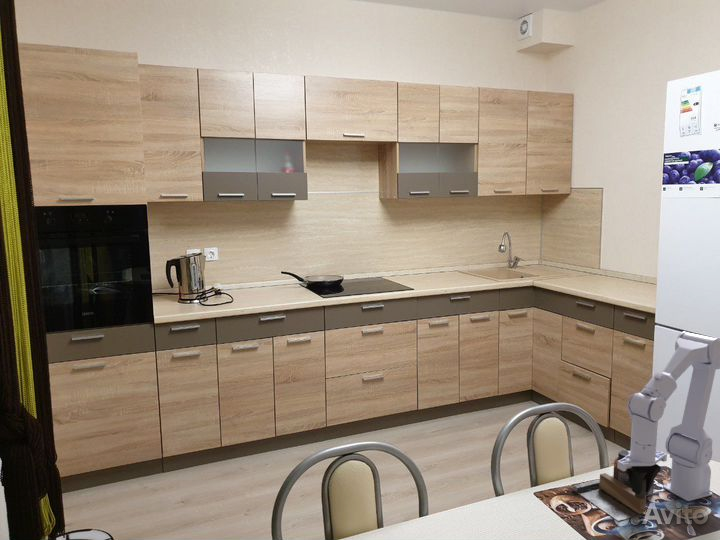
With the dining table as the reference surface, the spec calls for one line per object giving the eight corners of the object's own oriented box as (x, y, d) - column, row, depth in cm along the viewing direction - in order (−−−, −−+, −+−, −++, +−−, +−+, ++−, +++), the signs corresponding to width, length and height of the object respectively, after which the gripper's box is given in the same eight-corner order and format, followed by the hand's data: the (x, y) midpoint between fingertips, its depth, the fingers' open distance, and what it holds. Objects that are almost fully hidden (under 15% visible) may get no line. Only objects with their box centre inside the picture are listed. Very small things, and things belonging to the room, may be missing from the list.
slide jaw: (605, 486, 152) (607, 455, 151) (646, 512, 139) (648, 479, 138) (598, 487, 151) (600, 457, 150) (639, 514, 138) (641, 481, 137)
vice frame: (624, 477, 157) (625, 463, 157) (672, 506, 143) (673, 490, 142) (573, 490, 151) (573, 475, 150) (618, 521, 136) (619, 504, 136)
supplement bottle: (639, 498, 146) (641, 459, 145) (615, 496, 148) (617, 457, 146) (633, 487, 152) (635, 449, 151) (610, 485, 153) (612, 447, 152)
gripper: (651, 430, 144) (648, 478, 145) (608, 439, 139) (606, 489, 140) (675, 441, 137) (671, 491, 139) (631, 450, 132) (628, 503, 134)
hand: (640, 491), depth 139 cm, fingers closed on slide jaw, 2 cm apart
